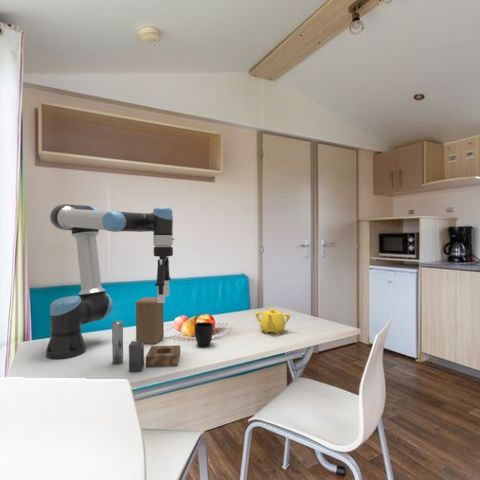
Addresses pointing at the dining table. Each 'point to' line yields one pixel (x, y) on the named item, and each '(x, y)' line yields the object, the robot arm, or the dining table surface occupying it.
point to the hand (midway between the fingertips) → (163, 299)
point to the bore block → (163, 356)
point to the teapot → (272, 321)
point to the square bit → (136, 356)
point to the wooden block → (149, 320)
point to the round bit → (117, 342)
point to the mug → (203, 333)
